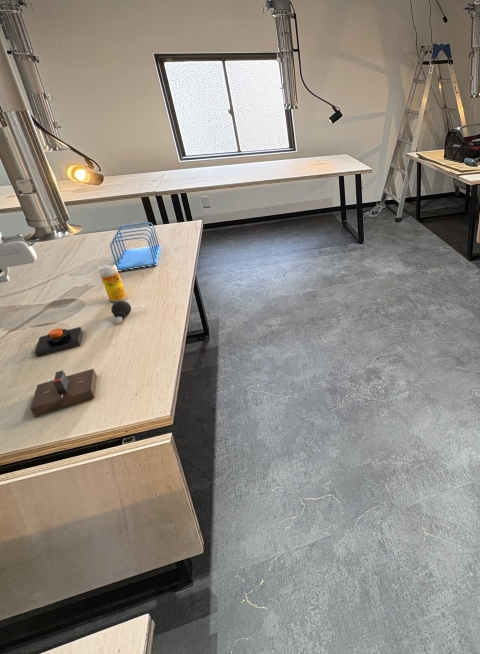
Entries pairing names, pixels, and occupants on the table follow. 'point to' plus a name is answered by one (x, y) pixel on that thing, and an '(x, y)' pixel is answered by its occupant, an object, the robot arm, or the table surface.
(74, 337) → the button block
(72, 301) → the table surface
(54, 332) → the button
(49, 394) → the rod panel
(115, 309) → the light bulb
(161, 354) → the table surface
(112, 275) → the yellow canister
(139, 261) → the file sorter
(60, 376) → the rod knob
